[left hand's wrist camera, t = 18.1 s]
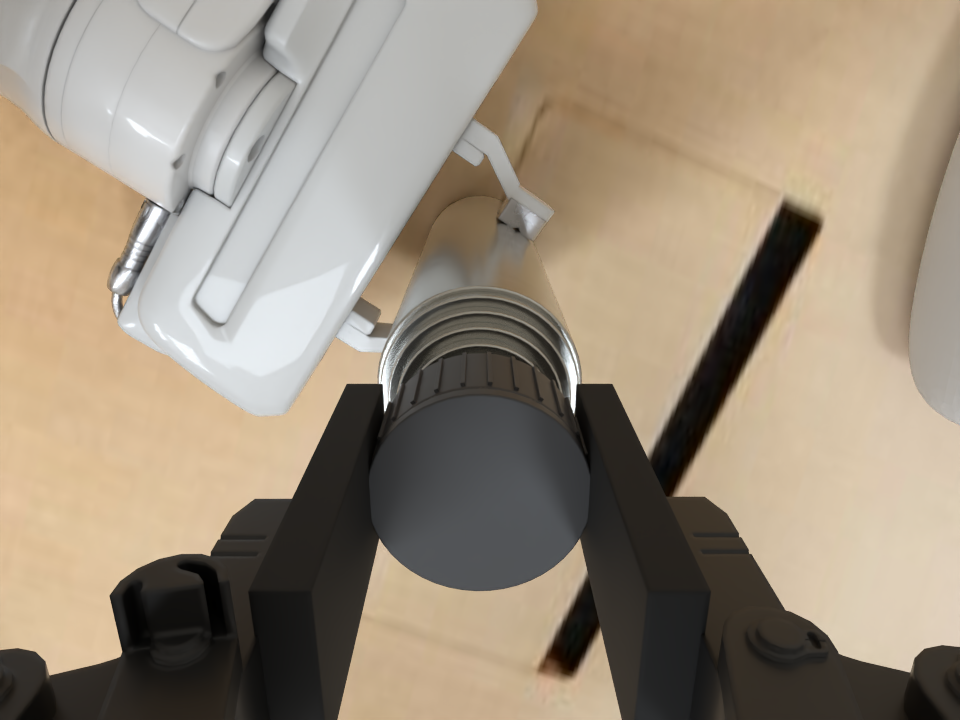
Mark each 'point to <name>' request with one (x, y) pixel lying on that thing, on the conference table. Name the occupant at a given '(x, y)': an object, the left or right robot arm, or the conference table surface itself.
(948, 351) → the projector
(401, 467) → the cap
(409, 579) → the conference table surface
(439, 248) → the bottle
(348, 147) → the right robot arm
